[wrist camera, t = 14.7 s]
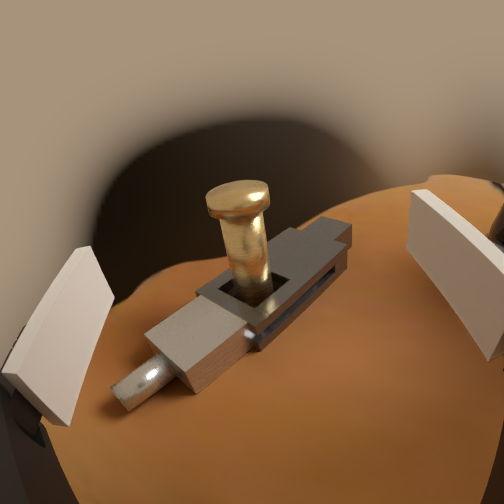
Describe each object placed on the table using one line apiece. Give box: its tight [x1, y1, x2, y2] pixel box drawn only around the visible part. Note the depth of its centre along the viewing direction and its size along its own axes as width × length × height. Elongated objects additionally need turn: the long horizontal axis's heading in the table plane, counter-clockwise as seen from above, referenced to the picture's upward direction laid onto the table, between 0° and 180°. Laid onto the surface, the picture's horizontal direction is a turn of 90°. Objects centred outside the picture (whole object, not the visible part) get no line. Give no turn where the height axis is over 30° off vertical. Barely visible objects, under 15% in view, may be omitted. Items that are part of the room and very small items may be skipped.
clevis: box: [110, 216, 352, 412], centre depth 34 cm, size 35×9×4 cm, turn 137°
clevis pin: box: [206, 180, 274, 308], centre depth 31 cm, size 6×6×14 cm
